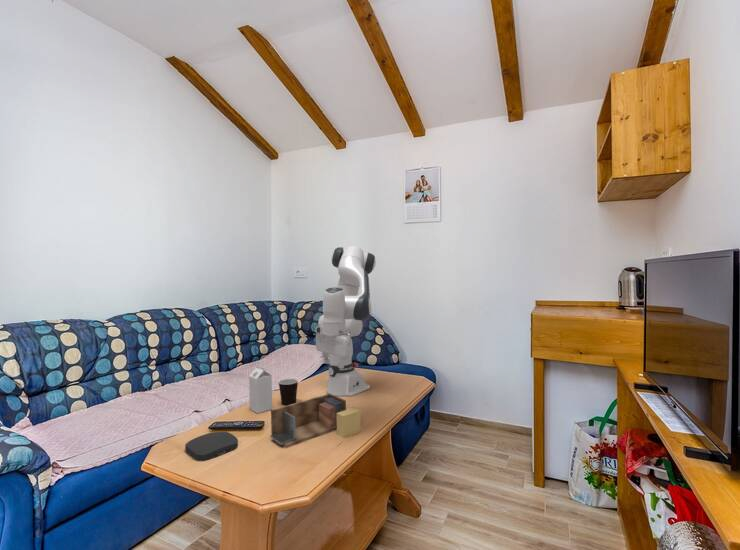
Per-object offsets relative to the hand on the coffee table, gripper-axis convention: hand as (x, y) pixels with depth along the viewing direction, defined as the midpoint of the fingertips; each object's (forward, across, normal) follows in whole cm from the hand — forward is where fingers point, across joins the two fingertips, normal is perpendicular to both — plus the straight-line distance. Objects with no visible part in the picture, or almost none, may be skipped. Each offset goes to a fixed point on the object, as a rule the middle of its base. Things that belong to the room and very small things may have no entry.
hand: (333, 365), depth 143 cm
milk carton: (+24, +38, +12) cm, 47 cm away
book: (+24, -7, -2) cm, 25 cm away
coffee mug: (+24, +37, -2) cm, 44 cm away
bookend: (+24, +3, +19) cm, 31 cm away
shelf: (+24, +4, +8) cm, 26 cm away
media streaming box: (+26, +16, +40) cm, 50 cm away
